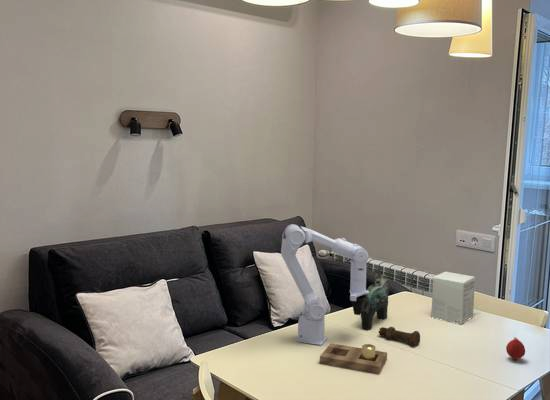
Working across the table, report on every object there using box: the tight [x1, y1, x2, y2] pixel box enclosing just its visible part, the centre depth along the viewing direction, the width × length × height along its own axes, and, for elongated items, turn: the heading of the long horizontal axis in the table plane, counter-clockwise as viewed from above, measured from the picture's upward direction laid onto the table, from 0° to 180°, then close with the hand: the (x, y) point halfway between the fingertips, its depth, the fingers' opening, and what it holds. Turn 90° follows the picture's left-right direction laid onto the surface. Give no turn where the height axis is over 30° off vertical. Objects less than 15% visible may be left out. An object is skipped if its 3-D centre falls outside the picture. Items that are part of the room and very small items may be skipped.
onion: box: [505, 336, 526, 361], centre depth 176 cm, size 6×6×8 cm
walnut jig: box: [319, 342, 388, 375], centre depth 175 cm, size 20×12×2 cm, turn 67°
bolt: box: [378, 326, 421, 348], centre depth 193 cm, size 6×5×15 cm
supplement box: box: [430, 271, 476, 325], centre depth 217 cm, size 13×13×18 cm
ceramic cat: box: [360, 273, 391, 331], centre depth 210 cm, size 20×6×20 cm, turn 144°
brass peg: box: [361, 343, 377, 361], centre depth 173 cm, size 4×4×6 cm
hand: (357, 314), depth 194 cm, fingers closed
